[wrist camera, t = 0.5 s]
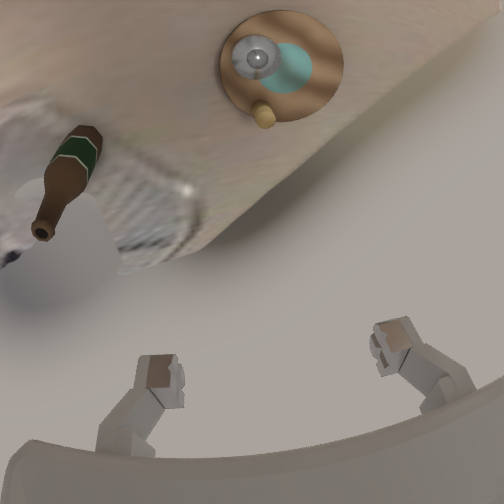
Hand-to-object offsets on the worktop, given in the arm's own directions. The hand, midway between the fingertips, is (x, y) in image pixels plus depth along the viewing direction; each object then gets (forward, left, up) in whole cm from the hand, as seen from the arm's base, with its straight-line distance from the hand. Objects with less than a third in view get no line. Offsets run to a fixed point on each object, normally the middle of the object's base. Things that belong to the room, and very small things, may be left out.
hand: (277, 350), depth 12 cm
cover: (-3, +5, -42) cm, 43 cm away
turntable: (-3, +10, -44) cm, 46 cm away
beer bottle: (+23, -17, -46) cm, 54 cm away
